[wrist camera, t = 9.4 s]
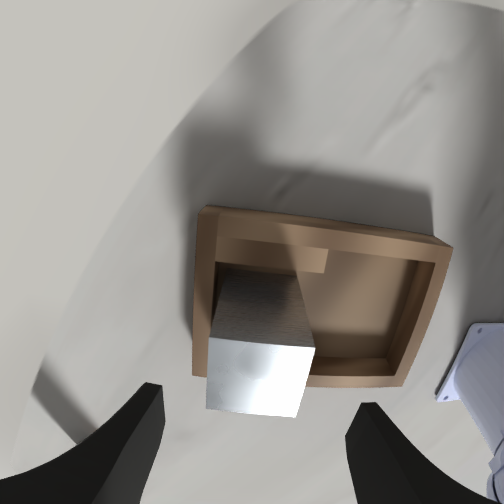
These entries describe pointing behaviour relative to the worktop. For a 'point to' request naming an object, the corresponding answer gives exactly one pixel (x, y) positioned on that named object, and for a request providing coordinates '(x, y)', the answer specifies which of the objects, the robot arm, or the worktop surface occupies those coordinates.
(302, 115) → the worktop surface
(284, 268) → the wooden tray
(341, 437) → the worktop surface
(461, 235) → the worktop surface
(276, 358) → the metal peg
